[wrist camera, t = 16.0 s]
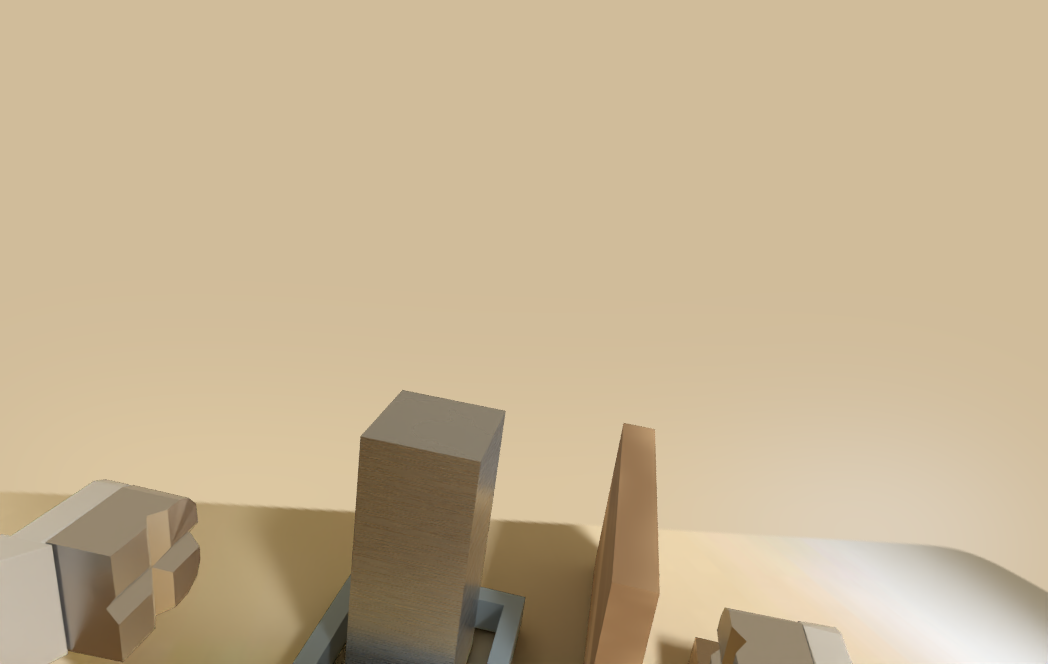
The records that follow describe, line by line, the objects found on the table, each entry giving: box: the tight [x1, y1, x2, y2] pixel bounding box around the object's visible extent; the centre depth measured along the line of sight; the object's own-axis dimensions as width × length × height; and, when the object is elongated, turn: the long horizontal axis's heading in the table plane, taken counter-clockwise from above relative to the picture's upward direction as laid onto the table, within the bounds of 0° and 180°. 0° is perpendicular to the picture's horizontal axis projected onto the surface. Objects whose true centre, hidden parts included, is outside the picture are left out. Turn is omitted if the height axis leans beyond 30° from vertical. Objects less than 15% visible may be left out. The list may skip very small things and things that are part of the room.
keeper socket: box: [293, 575, 525, 664], centre depth 27 cm, size 8×8×2 cm
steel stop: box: [345, 390, 505, 664], centre depth 25 cm, size 4×4×11 cm
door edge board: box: [584, 423, 660, 664], centre depth 28 cm, size 2×12×8 cm, turn 170°
